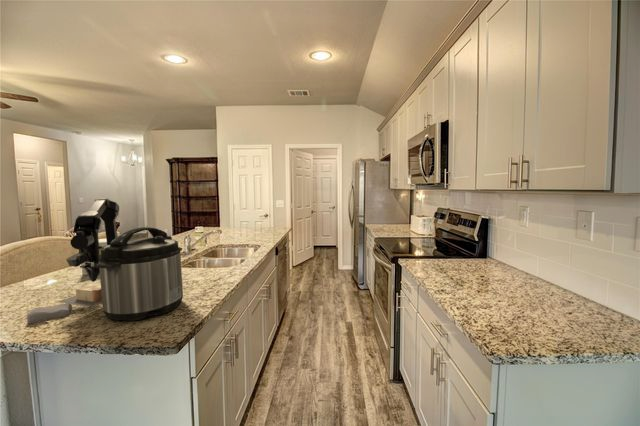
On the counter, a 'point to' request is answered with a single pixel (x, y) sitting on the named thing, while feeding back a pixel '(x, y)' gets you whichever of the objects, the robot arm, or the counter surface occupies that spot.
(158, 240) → the pressure cooker
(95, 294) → the birch block
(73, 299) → the rubber mat
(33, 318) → the stone block
